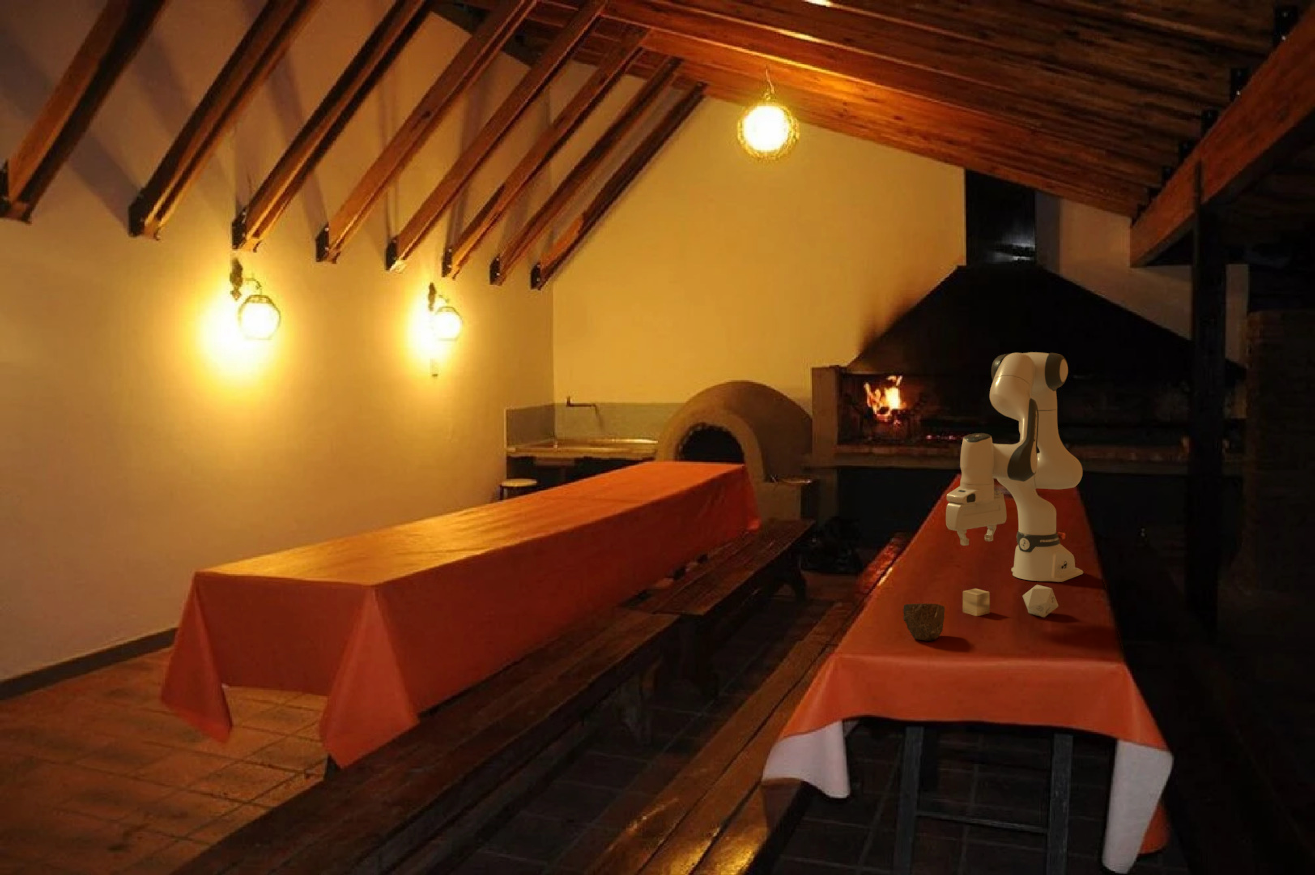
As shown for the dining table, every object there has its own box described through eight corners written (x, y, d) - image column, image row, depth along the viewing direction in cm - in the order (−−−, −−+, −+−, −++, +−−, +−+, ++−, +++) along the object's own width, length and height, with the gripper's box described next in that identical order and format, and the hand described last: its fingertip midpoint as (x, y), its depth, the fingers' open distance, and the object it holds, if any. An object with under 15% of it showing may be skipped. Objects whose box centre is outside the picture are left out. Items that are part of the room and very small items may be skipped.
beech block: (975, 609, 281) (975, 588, 280) (989, 613, 277) (989, 592, 276) (962, 612, 279) (962, 591, 278) (976, 616, 274) (976, 595, 274)
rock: (933, 612, 263) (956, 598, 256) (941, 648, 258) (964, 635, 251) (896, 607, 259) (918, 593, 251) (902, 643, 254) (925, 630, 246)
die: (1027, 621, 270) (1050, 596, 266) (1010, 599, 277) (1033, 574, 273) (1047, 627, 274) (1070, 602, 270) (1030, 605, 281) (1052, 580, 277)
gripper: (994, 488, 282) (993, 536, 283) (941, 495, 272) (941, 545, 273) (1012, 490, 277) (1011, 540, 278) (959, 498, 266) (959, 549, 268)
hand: (976, 542), depth 276 cm, fingers open, 8 cm apart
